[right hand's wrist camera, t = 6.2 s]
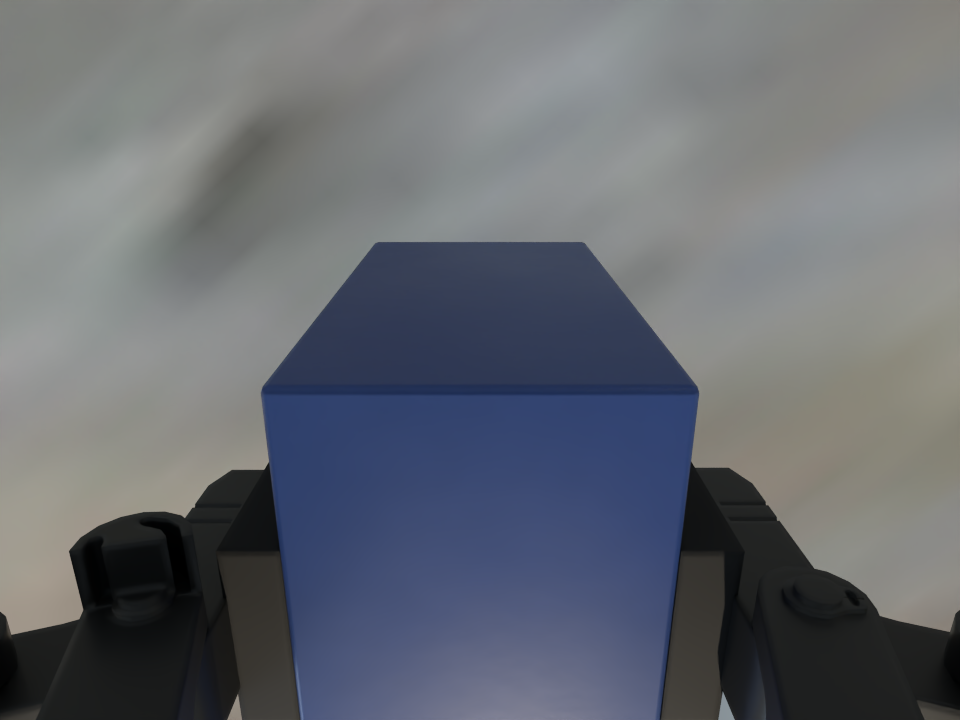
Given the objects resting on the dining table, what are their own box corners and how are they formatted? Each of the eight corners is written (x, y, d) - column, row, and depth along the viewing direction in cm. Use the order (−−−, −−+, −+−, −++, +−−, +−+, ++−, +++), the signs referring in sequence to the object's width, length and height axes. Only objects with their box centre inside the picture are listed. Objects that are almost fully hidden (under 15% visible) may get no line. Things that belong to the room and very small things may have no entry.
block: (388, 506, 18) (312, 838, 10) (374, 241, 15) (257, 387, 7) (571, 506, 18) (647, 839, 10) (585, 241, 15) (702, 388, 7)
